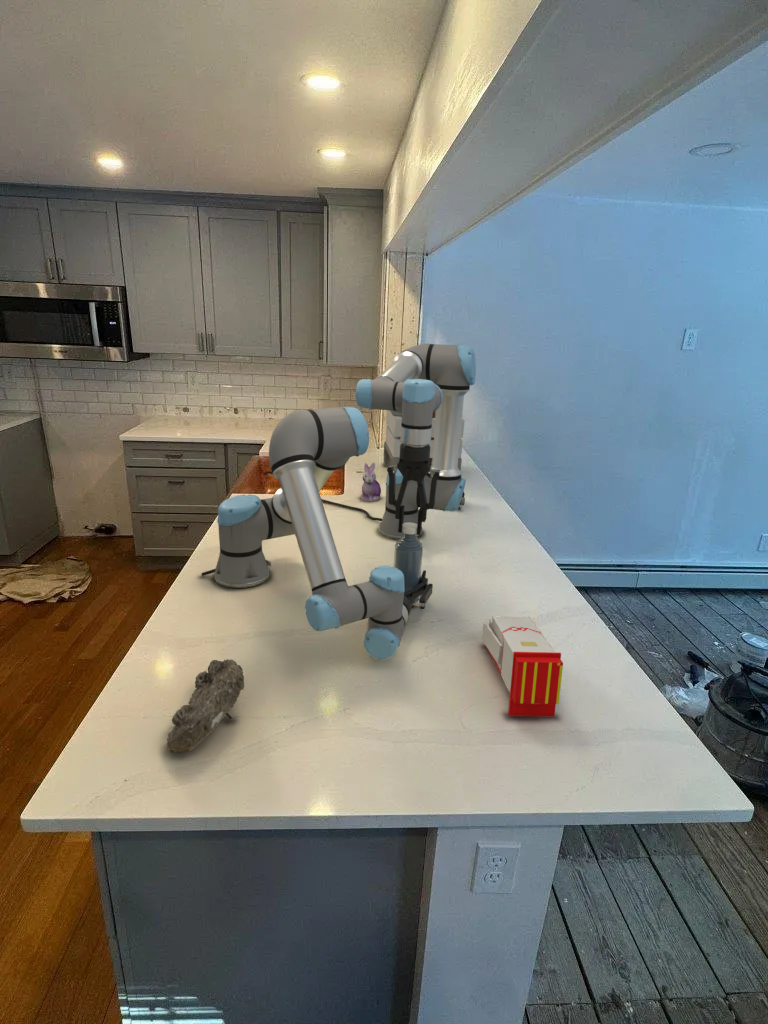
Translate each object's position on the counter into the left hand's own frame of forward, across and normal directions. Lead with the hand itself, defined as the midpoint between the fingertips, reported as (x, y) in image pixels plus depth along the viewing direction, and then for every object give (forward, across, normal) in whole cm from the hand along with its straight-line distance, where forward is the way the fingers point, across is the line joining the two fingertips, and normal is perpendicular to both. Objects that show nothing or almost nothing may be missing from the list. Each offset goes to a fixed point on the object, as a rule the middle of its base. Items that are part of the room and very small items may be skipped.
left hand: (409, 572), depth 157 cm
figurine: (+77, -30, -6) cm, 82 cm away
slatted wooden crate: (+122, -16, -6) cm, 124 cm away
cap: (-5, 0, +16) cm, 16 cm away
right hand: (-5, 0, +14) cm, 15 cm away
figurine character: (+79, +5, -6) cm, 80 cm away
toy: (-31, +29, -6) cm, 43 cm away
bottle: (-5, 0, -6) cm, 8 cm away
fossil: (-61, -27, -6) cm, 67 cm away
